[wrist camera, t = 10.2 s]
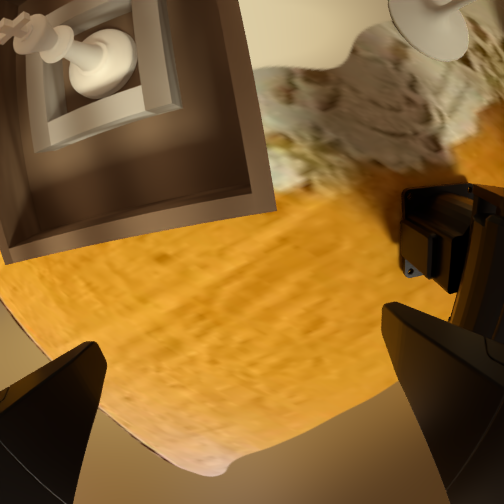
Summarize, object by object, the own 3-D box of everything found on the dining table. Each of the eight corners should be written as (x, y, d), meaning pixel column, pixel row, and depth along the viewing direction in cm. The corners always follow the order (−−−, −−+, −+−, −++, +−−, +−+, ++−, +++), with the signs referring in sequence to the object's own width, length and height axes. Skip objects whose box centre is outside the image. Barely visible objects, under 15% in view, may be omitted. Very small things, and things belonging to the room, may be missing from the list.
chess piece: (66, 55, 15) (-36, 25, 5) (127, 18, 14) (43, -48, 5) (83, 112, 16) (-30, 106, 7) (147, 76, 16) (54, 27, 6)
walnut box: (217, -76, 12) (210, -114, 7) (271, 194, 19) (276, 210, 14) (17, 6, 13) (-17, -7, 8) (43, 241, 20) (5, 265, 16)
